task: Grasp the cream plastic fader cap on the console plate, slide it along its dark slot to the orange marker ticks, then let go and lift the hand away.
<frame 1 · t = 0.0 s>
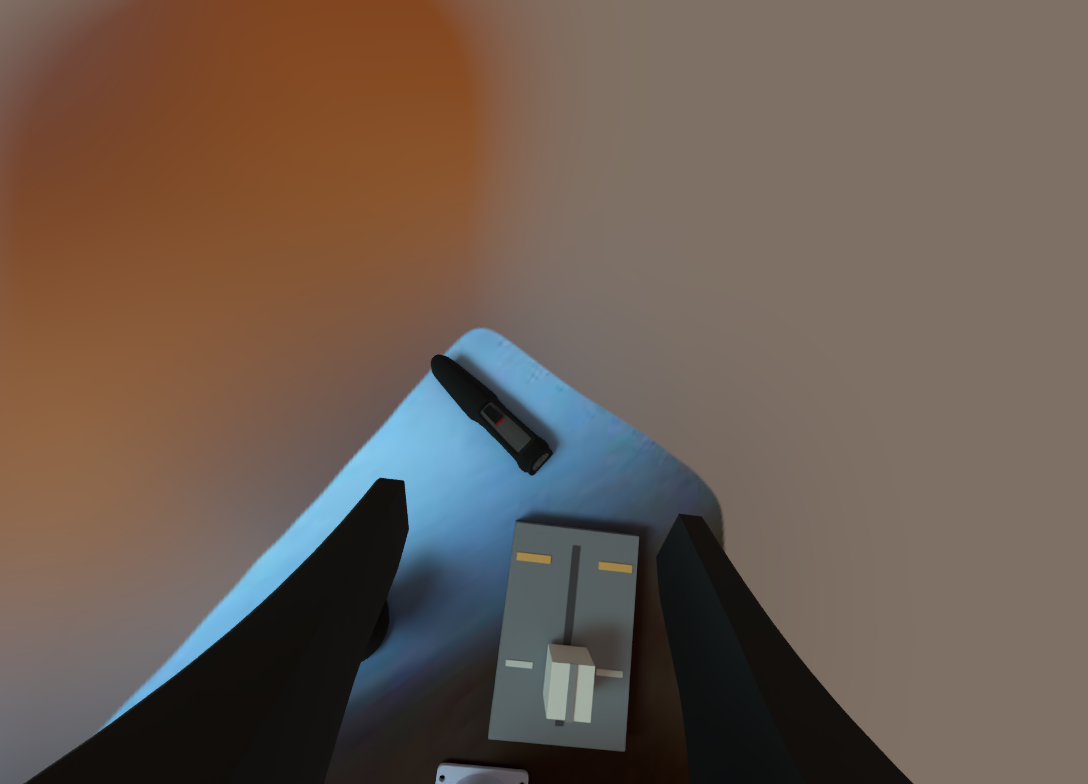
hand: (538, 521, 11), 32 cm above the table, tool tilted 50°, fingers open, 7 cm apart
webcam: (350, 618, 39), on the table
electric trimmer: (490, 417, 45), on the table
console: (565, 624, 40), on the table
fader: (568, 681, 35), point 4 cm above the table, slide at 0.0 cm
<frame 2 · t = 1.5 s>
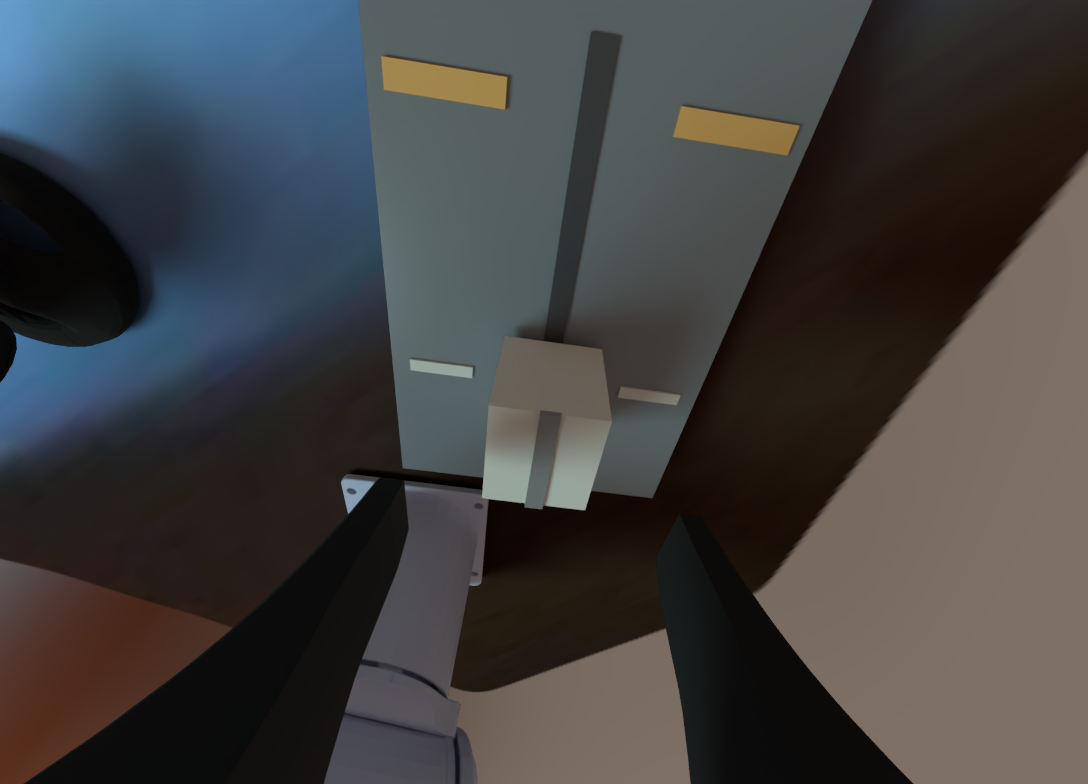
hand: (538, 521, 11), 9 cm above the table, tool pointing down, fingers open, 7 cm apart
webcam: (43, 249, 16), on the table
console: (558, 289, 16), on the table
fader: (544, 422, 15), point 4 cm above the table, slide at 0.0 cm
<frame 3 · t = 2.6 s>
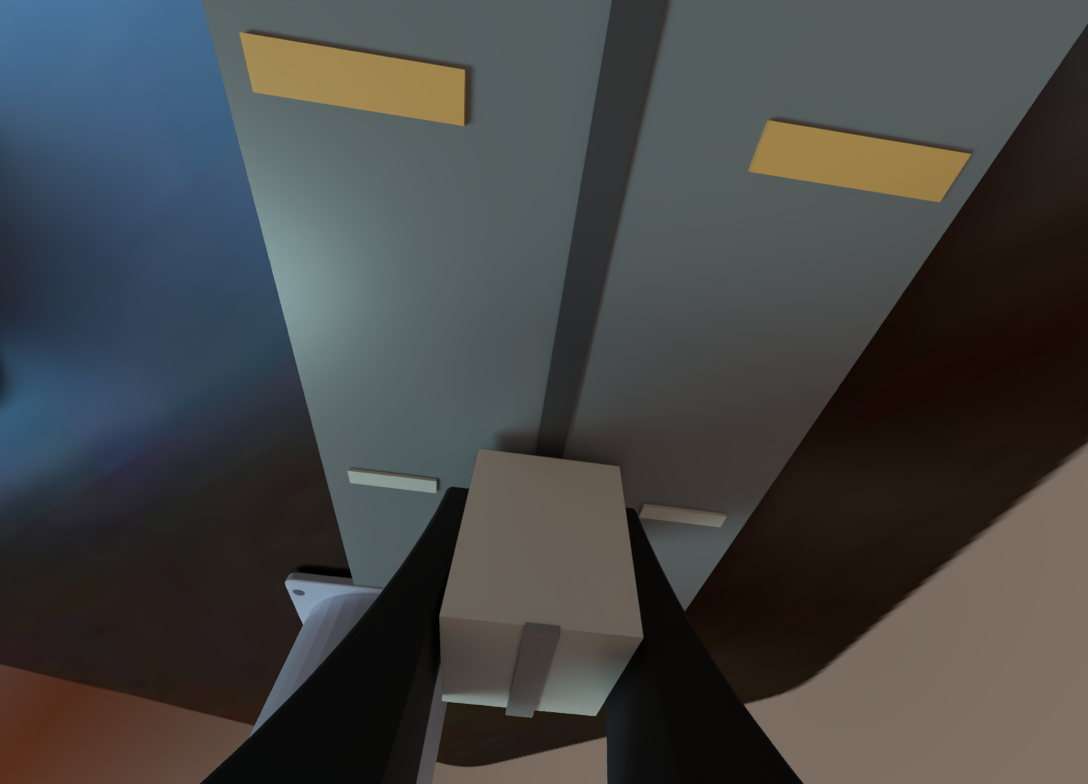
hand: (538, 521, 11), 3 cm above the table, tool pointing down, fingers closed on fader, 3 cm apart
console: (557, 370, 12), on the table
fader: (535, 580, 10), point 4 cm above the table, slide at 0.0 cm, touching gripper
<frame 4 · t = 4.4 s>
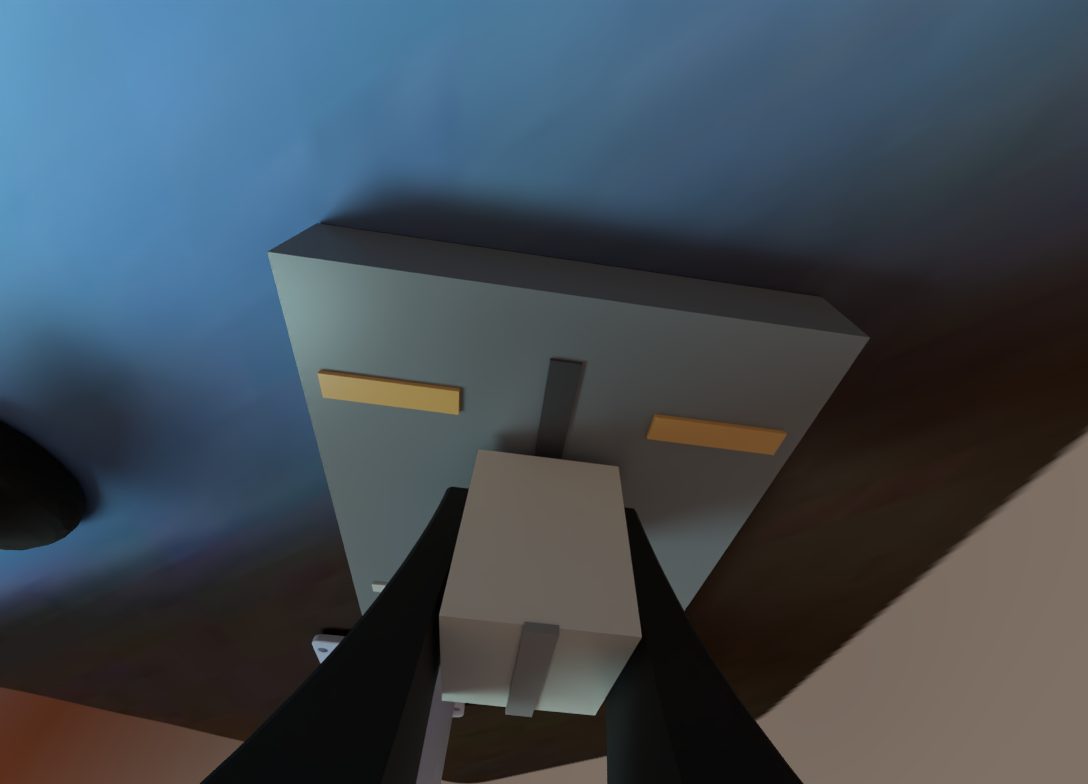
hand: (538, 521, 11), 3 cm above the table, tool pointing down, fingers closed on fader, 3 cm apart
console: (532, 504, 15), on the table
fader: (534, 580, 10), point 4 cm above the table, slide at 5.9 cm, touching gripper
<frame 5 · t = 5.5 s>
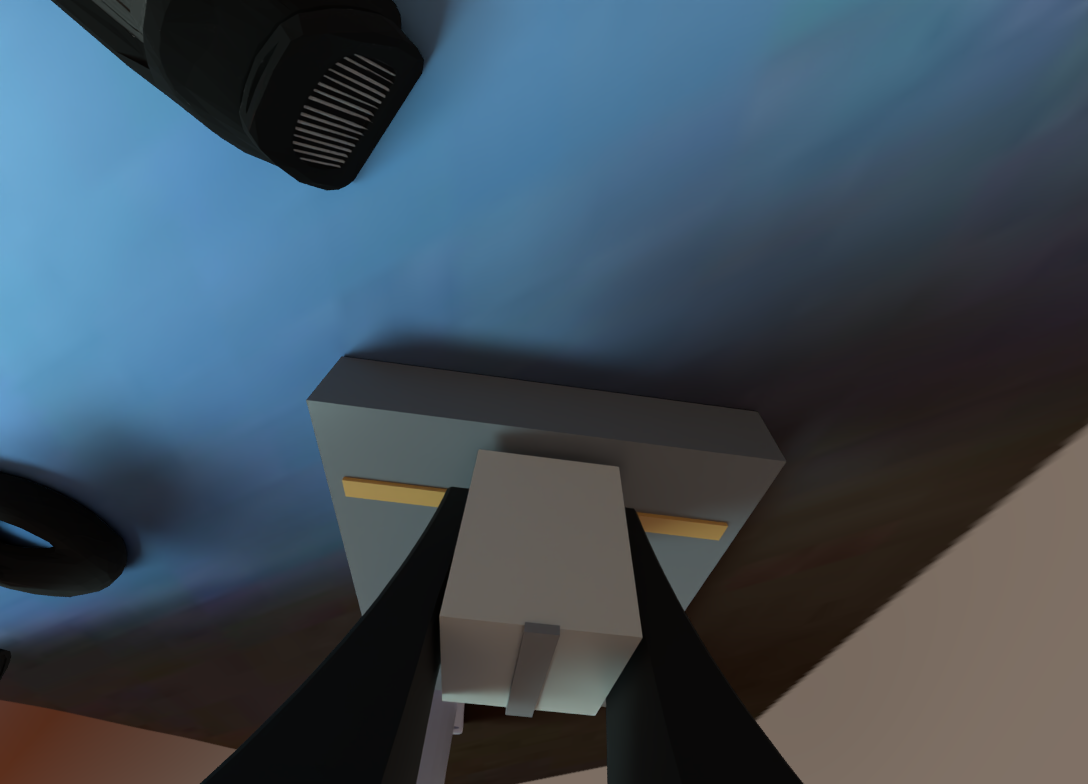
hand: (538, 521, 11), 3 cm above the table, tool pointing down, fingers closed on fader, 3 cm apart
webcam: (37, 520, 18), on the table
console: (522, 560, 17), on the table
fader: (534, 580, 10), point 4 cm above the table, slide at 9.5 cm, touching gripper
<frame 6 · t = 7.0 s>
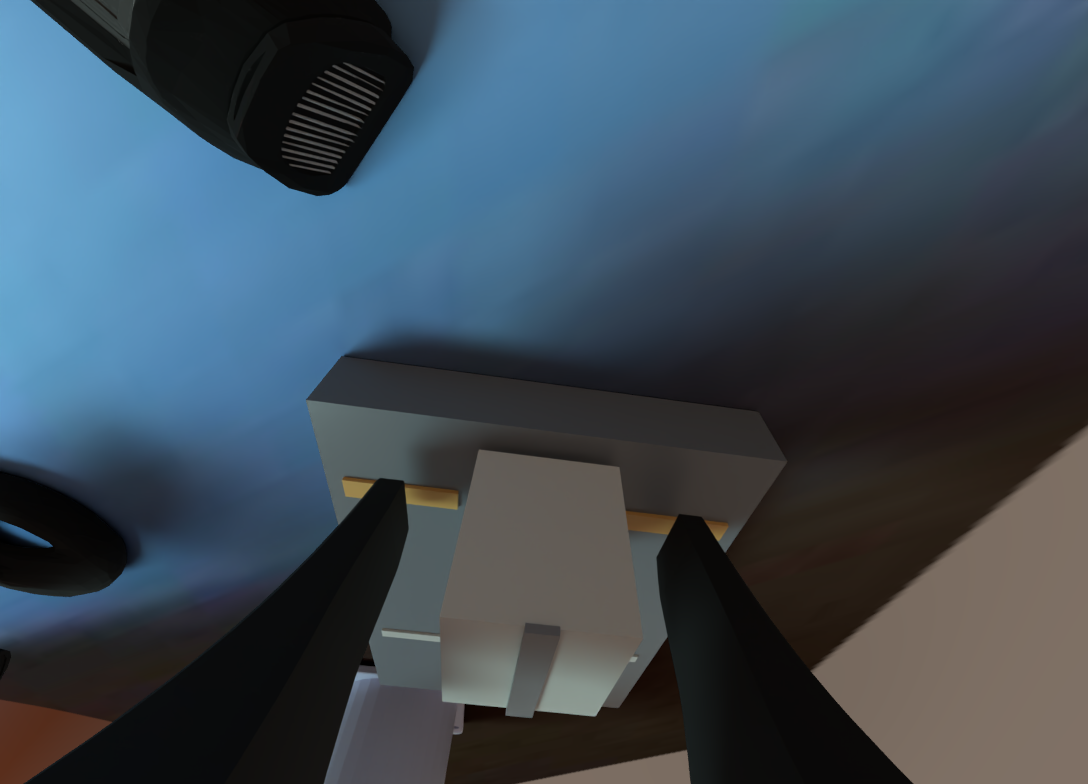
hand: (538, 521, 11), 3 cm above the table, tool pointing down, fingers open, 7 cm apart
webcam: (37, 519, 17), on the table
console: (522, 560, 17), on the table
fader: (535, 581, 10), point 4 cm above the table, slide at 9.5 cm
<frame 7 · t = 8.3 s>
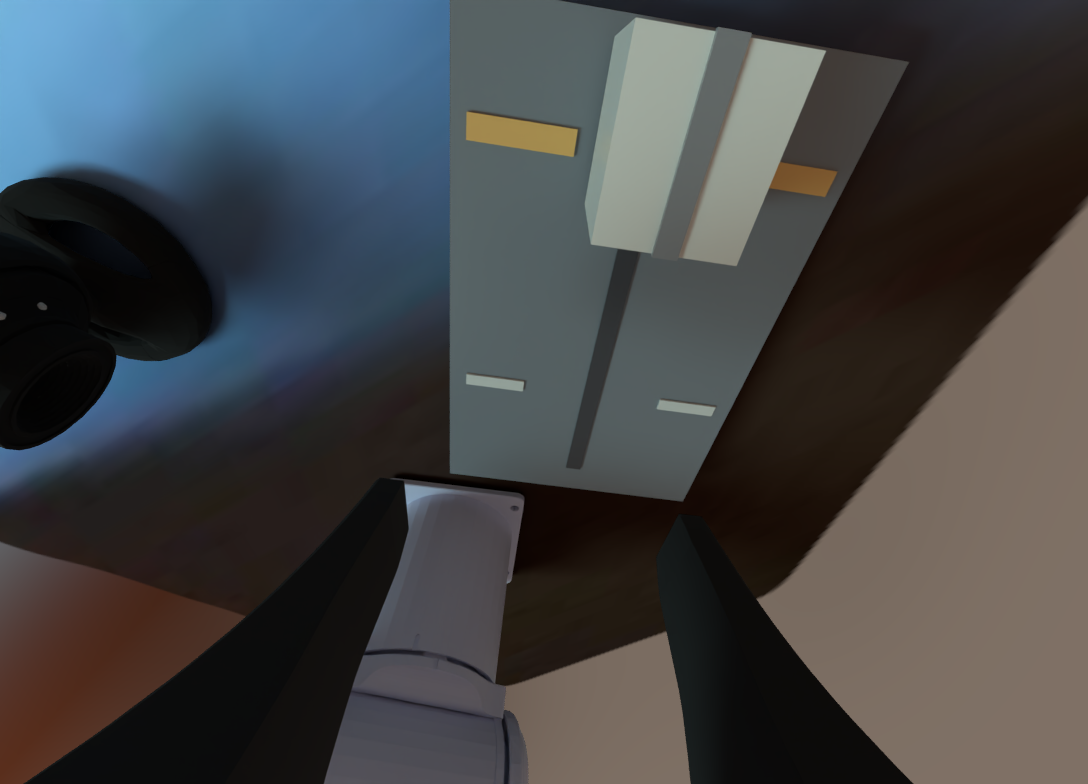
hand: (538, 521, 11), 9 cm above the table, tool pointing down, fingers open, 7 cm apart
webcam: (126, 272, 18), on the table
console: (603, 309, 18), on the table
fader: (674, 147, 10), point 4 cm above the table, slide at 9.5 cm
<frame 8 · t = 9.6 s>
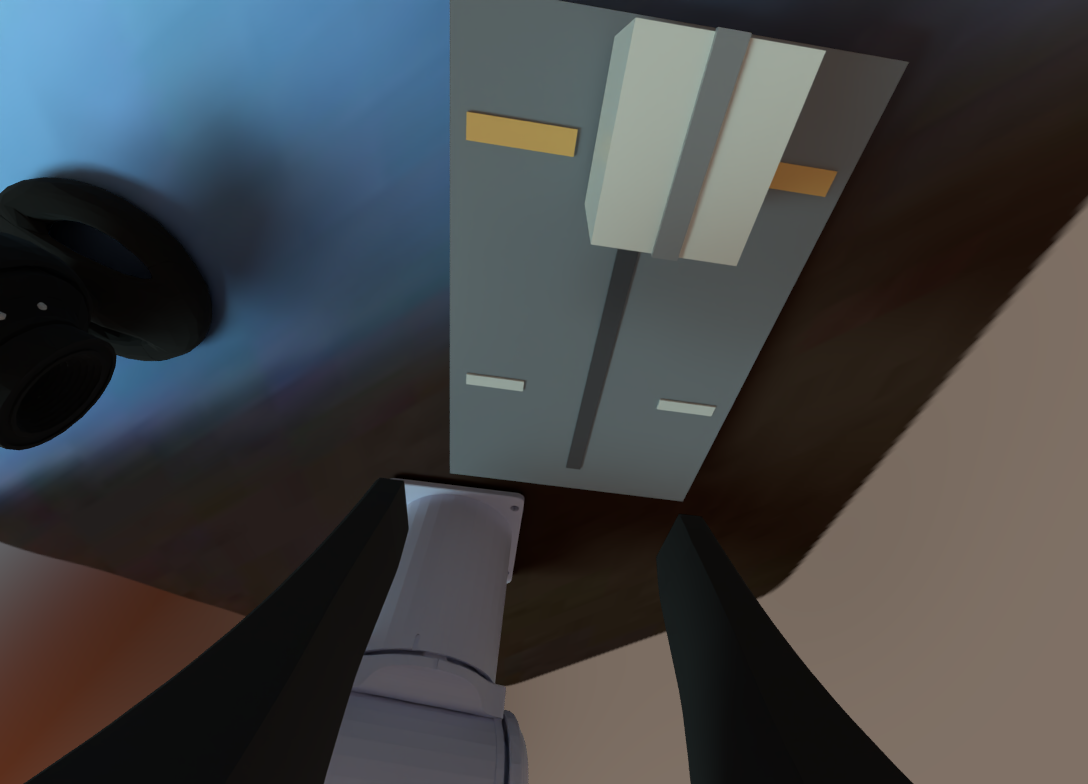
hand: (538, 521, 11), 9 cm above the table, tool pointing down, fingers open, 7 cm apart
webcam: (126, 272, 18), on the table
console: (603, 309, 18), on the table
fader: (674, 147, 10), point 4 cm above the table, slide at 9.5 cm
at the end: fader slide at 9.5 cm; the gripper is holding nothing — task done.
